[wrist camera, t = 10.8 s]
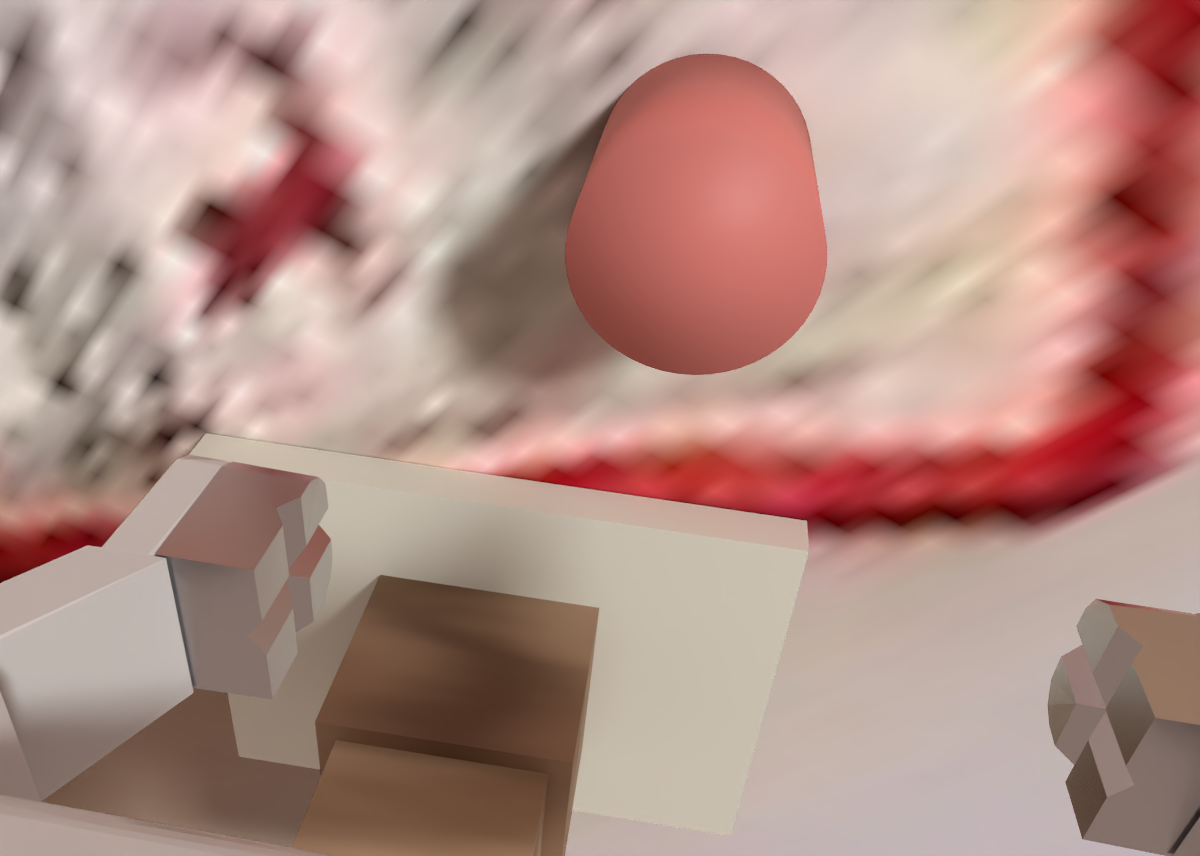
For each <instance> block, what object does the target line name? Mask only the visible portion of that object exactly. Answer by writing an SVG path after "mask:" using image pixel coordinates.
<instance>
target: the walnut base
mask: <svg viewBox="0 0 1200 856" xmlns="http://www.w3.org/2000/svg"><path fill="white" fill-rule="evenodd" d="M598 615H599V608H597V607H590V606H584V605H577V604H570V603H564V602H557V601H551V600H544V599H537V598H531V597H524V596H517V595H511V594H504V593H498V592H491V591H484V590H478V589H471V588H465V587H458V586H451V585H445V584H438V583H432V582H425V581H418V580H412V579H405V578H399V577H392V576H385V575H380V576H379V578H378V581H377V583H376V585H375V587H374V590H373V592H372V594H371V596H370V599H369V601H368V603H367V605H366V608H365V610H364V612H363V614H362V617H361V619H360V621H359V623H358V626H357V628H356V630H355V633H354V635H353V637H352V639H351V642H350V644H349V646H348V648H347V651H346V653H345V655H344V657H343V660H342V662H341V664H340V666H339V669H338V671H337V673H336V675H335V678H334V680H333V682H332V684H331V687H330V689H329V691H328V693H327V696H326V698H325V700H324V702H323V705H322V707H321V709H320V711H319V714H318V716H317V718H316V720H315V727H316V736H317V746H318V755H319V764H320V773H321V775H322V773H323V770H324V768H325V765H326V763H327V761H328V758H329V756H330V753H331V751H332V748H333V746H334V744H335V741H336V740H339V741H345V742H352V743H358V744H364V745H370V746H377V747H383V748H389V749H395V750H402V751H408V752H414V753H420V754H427V755H433V756H439V757H445V758H452V759H458V760H464V761H470V762H477V763H483V764H489V765H495V766H502V767H508V768H514V769H520V770H527V771H533V772H539V773H545V774H548V781H547V791H546V801H545V812H544V822H543V833H542V843H541V854H540V856H565V850H566V844H567V838H568V832H569V826H570V820H571V814H572V808H573V802H574V796H575V789H576V783H577V777H578V771H579V765H580V759H581V753H582V746H583V737H584V729H585V721H586V713H587V705H588V697H589V689H590V680H591V672H592V664H593V656H594V648H595V640H596V632H597V623H598Z"/></svg>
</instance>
